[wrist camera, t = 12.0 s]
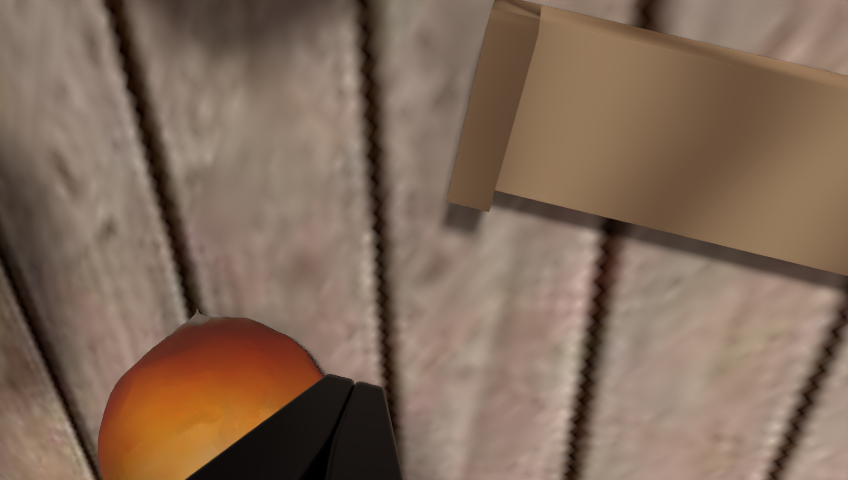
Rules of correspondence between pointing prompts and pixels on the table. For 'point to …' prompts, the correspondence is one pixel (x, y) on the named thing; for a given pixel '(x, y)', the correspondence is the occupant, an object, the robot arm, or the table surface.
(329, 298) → the table surface
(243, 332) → the fruit
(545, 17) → the rail
